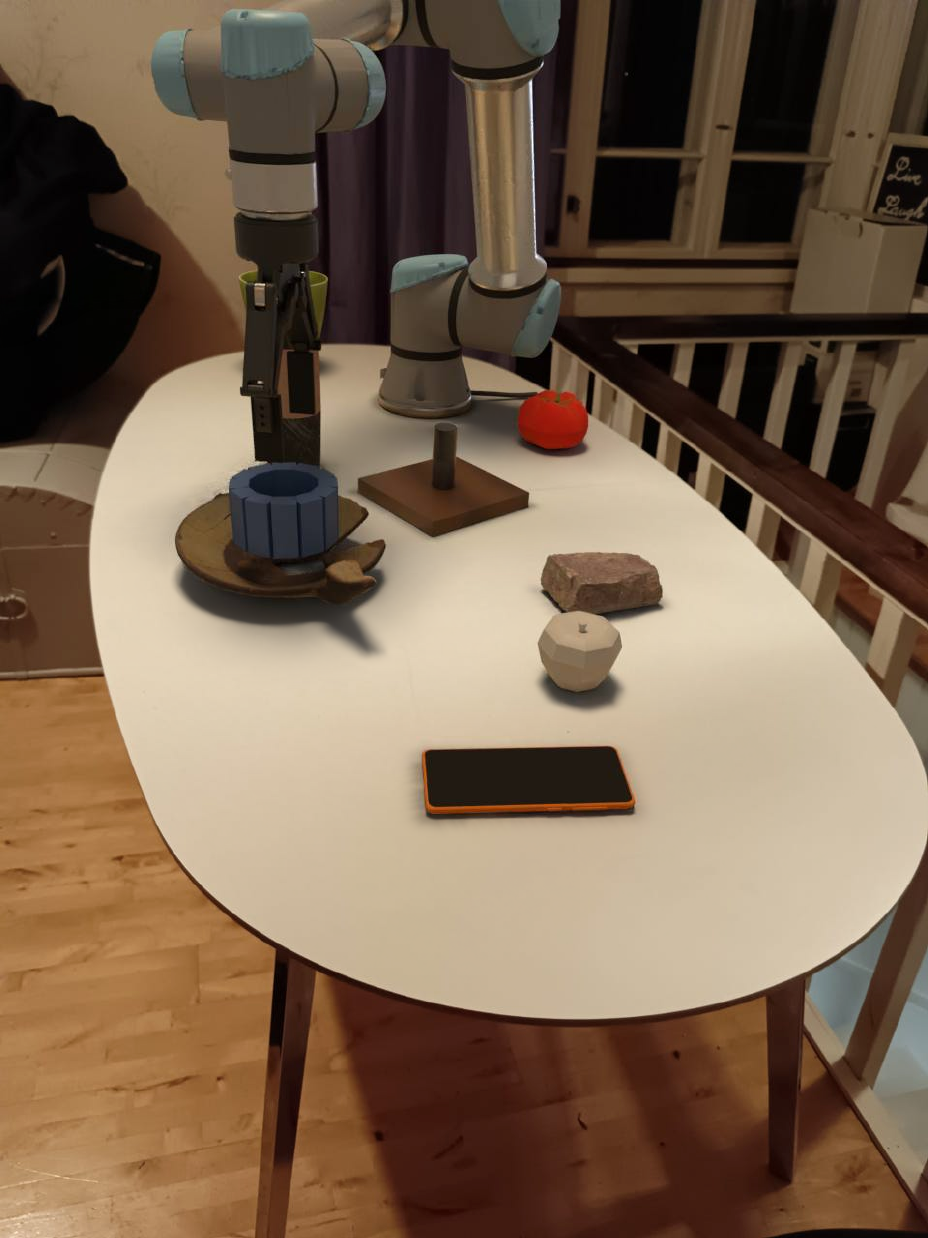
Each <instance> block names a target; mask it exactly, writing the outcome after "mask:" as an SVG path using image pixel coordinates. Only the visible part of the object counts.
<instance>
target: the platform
mask: <svg viewBox="0 0 928 1238" xmlns="http://www.w3.org/2000/svg"><path fill="white" fill-rule="evenodd" d="M458 430H459V428H458V425H457V424H454V423H451V422H438V423H435V424H434V425H433V438H432V439H433V440H432V441H433V443H432V458H431V459H427V460H423V461H419V462H416V463H411V464H407V465H403V466H400V467H396V468H391V469H387V470H384V471H379V472H375V473H373V474H368V475H365V476H360V477H357V493H358V494H361V495H362V496H364V497H365V498H367V499H369V500H370V501H372V502H374V503H375V504H377V505H379V506H381V507H382V508H383V509H385V510H387V511H388V512H391V513H392V514H394V515H396V516H397V517H399V518H401V519H402V520H404V521H406V522H408V523H409V524H410V525H412V526H414V527H416V528H418V529H419V530H421V531H422V532H424V533H426V534H427V535H429V536H431V537H435V536H439V535H441V534H442V535H443V534H445V533H448V532H451V531H455V530H457V529H461V528H464V527H467V526H471V525H474V524H477V523H480V522H483V521H486V520H489V519H490V520H491V519H493V518H496V517H499V516H502V515H505V514H509V513H512V512H516V511H518V510H521V509H524V508H527V507H529V500H530V492H529V491H527V490H525V489H523V488H521V487H519V486H518V485H517V486H516V485H515V484H513V483H511V482H509V481H507V480H505V479H503V478H501V477H498V476H497V475H495V474H493V473H491V472H489V471H487V470H485V469H484V468H483V469H482V468H481V467H479V466H477V465H474V464H472V463H471V462H469V461H466V460H465V459H462V458H461V457H458V456H457V447H458Z"/></svg>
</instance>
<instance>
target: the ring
mask: <svg viewBox="0 0 928 1238" xmlns="http://www.w3.org/2000/svg"><path fill="white" fill-rule="evenodd" d="M338 483H339V482H338V477H336V475H335V474H334V473H332V472H330V471H329V470H327V469H326V468H323V467H322V468H321V466H320V467H318V466H313V465H308V464H303V463H299V464H297V465H296V462H288V463H272V465H270V464H269V463H267V462H266V463H263V464H262V463H261V464H257V465H254V466H249V467H247V468H243V469H242V470H240V471H238V472H237V473H235V474H234V475H232V476H231V478H229V483H228V493H229V499H230V511H231V523H232V535H233V541H234V543H235V544H236V545H237V546H239V547H240V548H241V549H242V550H244V551H245V552H247V551H248V552H249V554H254V555H258V556H262V557H266V558H270V557H272V556H273V555H274V559H284V558H299V555H300V556H302V557H307V556H310V555H314V554H317V553H320V552H324V549H325V550H327V549H328V548H330V547H331V546H332V545H333V544H334V543H335V542H337V541H338V539H339V514H338V495H339V484H338Z"/></svg>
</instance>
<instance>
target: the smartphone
mask: <svg viewBox="0 0 928 1238" xmlns="http://www.w3.org/2000/svg"><path fill="white" fill-rule="evenodd" d="M621 759H622V758H621V757H620V753H619V751H618V749H617V747H615V746H613V745H574V746H573V745H572V746H571V745H569V746H568V745H567V746H527V747H526V746H525V747H521V746H519V747H476V748H473V747H471V748H431V749H430V748H429V749H425V750H423V751H422V752H421V763H422V776H423V783H424V785H423V787H424V789H423V790H424V801H425V808H426V811H427V812H429V813H431V814H434V815H442V814H443V815H444V814H445V815H446V814H449V815H450V814H480V813H481V814H482V813H516V812H517V813H520V812H521V813H522V812H562V811H607V810H626V809H627V810H628V809H631V808H633V807H635V805H636V798H635V795H634V793H633V790H632V787H631V785H630V784H631V783H630V781H629V778H628V776H627V773H626V769H625V767H624V765H623V762H622V760H621Z"/></svg>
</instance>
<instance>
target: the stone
mask: <svg viewBox="0 0 928 1238" xmlns="http://www.w3.org/2000/svg"><path fill="white" fill-rule="evenodd" d="M659 574H660V573H659V570H658V567H656V565H654V564H651V562H650V561H648V560H647V559H645V558H643V557H641V555H639V554H633V553H628V552H601V551H597V552H594V551H588V552H587V551H586V552H573V553H571V552H570V553H558V554H556V553H554V554H552V555H551V554H549V555H548V556H547V557H546V561H545V564H544V566H543V569H542V573H541V576H540V585H541V586H542V588H543V589H544V590H545V591H547V592H548V594H549V595H550V597H551V598H552V599H553V601H554V602H555V603H557V604H558V607H560V608H561V610H563V611H565V613H568V612H574V611H582V612H586V613H590V614H594V615H598V614H599V615H600V614H604V613H611V612H615V611H620V610H630V609H636V608H641V607H647V606H656V605H657V604H659V603H660V602H661V600H662V598H663V595H664V594H663V593H664V588H663V585H662V584H661V581H660V575H659Z"/></svg>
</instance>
